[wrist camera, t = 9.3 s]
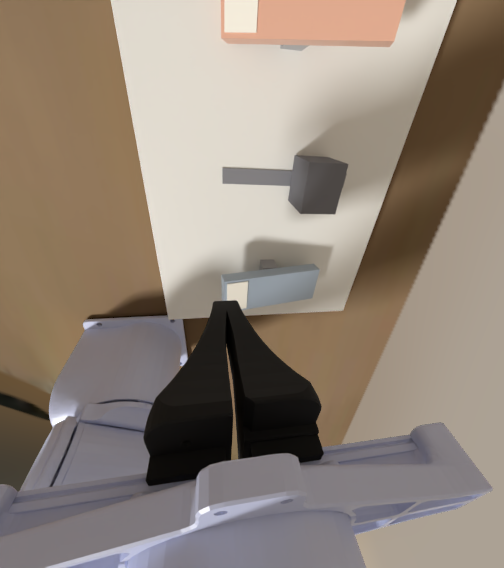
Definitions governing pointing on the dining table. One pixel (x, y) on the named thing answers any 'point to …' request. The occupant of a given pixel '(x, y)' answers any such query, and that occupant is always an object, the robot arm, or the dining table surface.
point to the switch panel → (264, 144)
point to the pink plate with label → (311, 22)
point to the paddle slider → (316, 184)
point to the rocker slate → (270, 286)
